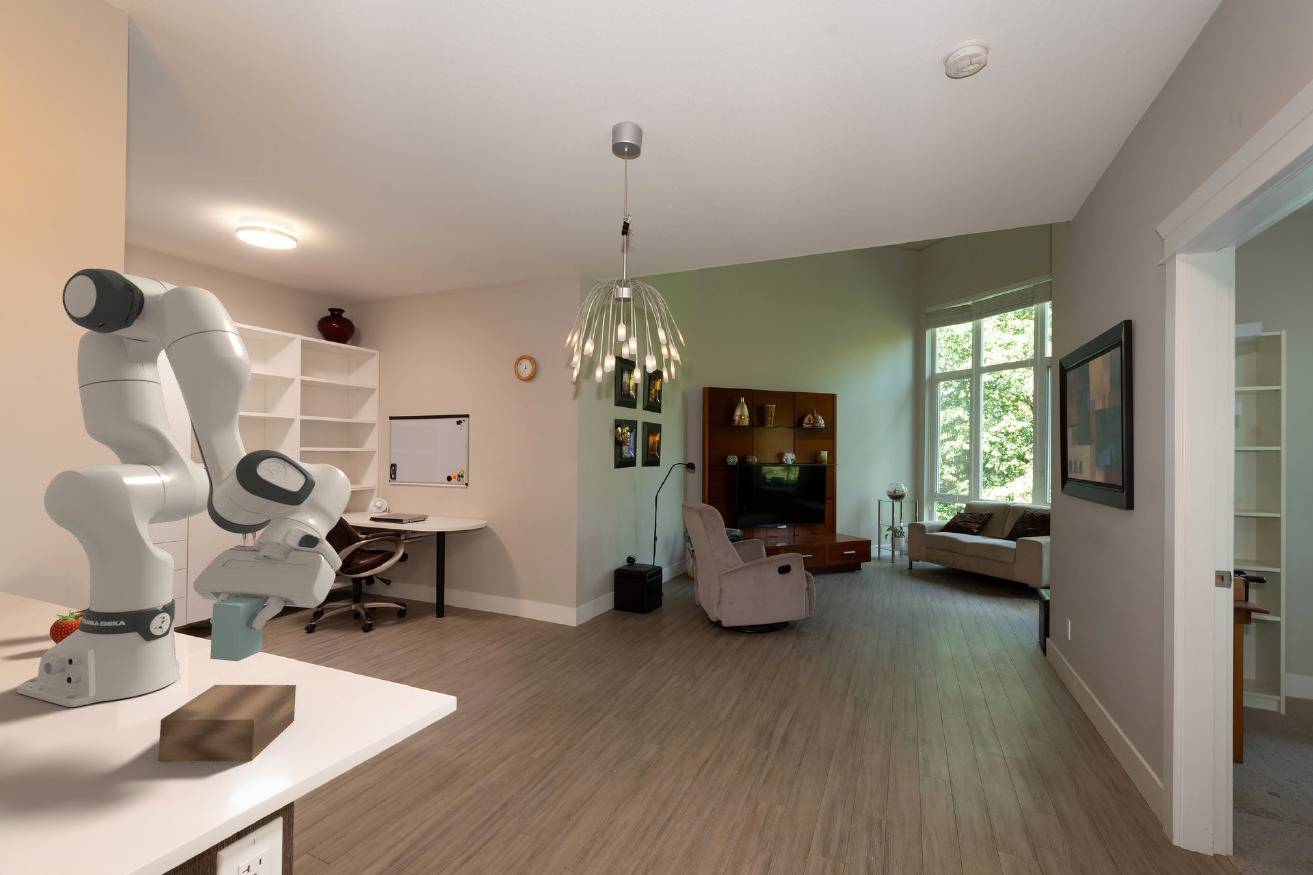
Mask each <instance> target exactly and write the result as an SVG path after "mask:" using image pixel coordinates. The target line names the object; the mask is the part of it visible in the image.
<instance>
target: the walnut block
mask: <svg viewBox="0 0 1313 875" xmlns="http://www.w3.org/2000/svg"><path fill="white" fill-rule="evenodd" d="M296 690H297V685H296V684H214V685H213V686H211V687H209V688H208V689H206V690H205V691H203V692H202V693H200V694H198V695H197V696H196V697H194V698H192V699H191V700H189V701H188V702H186V703H184V704H183V705H182V706H180V707H179V708H177V709H175V710H174V711H172V712H171V713H169V714H168V715H166V716H164V717H163V718H162V719H160V726H159V728H160V729H159V741H158V743H159V745H158V761H157V762H159V761H160V762H159V763H170V762H171V763H177V762H179V763H181V762H182V763H183V762H185V763H186V762H188V763H189V762H252V761H254V759H256V758H257V757H258V756H259V755H260V754H261V753H262V752H263V751H264V750H265V749H266V748H268V747H269V745H270V744H272V743H273V741H275V740H277V738H278V737H279V736H280V735H281V734H282V733H283V732H284V731H285V730H287V729H288V727H290V726H291V725H292V723H294V722H295V714H296V713H295V710H296V694H297V692H296ZM293 721H294V722H293Z"/></svg>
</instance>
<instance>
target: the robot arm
mask: <svg viewBox="0 0 1313 875" xmlns="http://www.w3.org/2000/svg"><path fill="white" fill-rule="evenodd" d="M62 291H63V292H62V305H63V309H64V310H65V312H66V315H67V316H68V318H69V319H70V320H71V321H72V322H73V323H74V324H76V325H77V326H80V327H81V328H84V329H87V330H88V331H86V332H85V333H84V334H83V335H82V336H81V337H80V339H79V343H78V348H77V349H78V350H77V369H76V370H77V383H78V384H77V385H78V392H79V396H80V402H81V403H80V404H81V410H82V417H83V423H84V429H85V431H86V433H87V434H88V436H89V437H90V438H91V439H93V440H94V441H96V442H98V443H99V444H101V445H103V446H105V447H106V448H108V449H110V450H111V451H112V452H113V454H115V455H116V457H117V458H118V459H119V462H121V463H106V464H105V463H104V464H103V463H102V464H101V463H100V464H92V465H91V464H90V465H87V466H82V467H76V468H72V469H68V470H64V471H61V472H59V473H58V474H57V475H55V476H54V478H52V480H51V481H50V482H49V484H48V485H47V487H46V489H45V492H44V496H43V497H44V498H43V505H44V508H45V511H46V514H47V515H48V517H49V518H50V519H51V521H53V523H55V524H56V525H57V526H59V527H61V528H63V529H65V530H67V531H68V532H69V533H71V535H73V536H74V537H75V538H76V539H77V540H78V542H79V544H81V546H82V548H83V550H84V551H85V554H86V557H87V560H88V565H89V580H90V581H89V582H90V583H89V607H87V608H85V609H80V610H78V611H74V614H79V613H81V612H83V613H82V614H80V615H78V616H76V617H74V618H80V617H82V620H81V622H80V624H79V626H78V630H76V631H75V632H74V633H72V634H71V635H69V636H68V637H67V638H65V639H64V640H62V641H61V642H59V643H58V644H56V643H55V645H53V646H52V647H51V648H49V649H48V650H46V651H45V652H44V653H43V654H42V656H41V659H40V661H39V666H38V671H37V672H38V673H37V676H34V677H33V678H30V679H28V680H26V681H24V682H22V683H21V684H19V685H18V686H17V688H16V691H15V692H16V693H17V694H20V695H24V696H27V697H31V698H34V699H38V700H42V701H44V702H50V703H53V704H57V705H60V706H64V707H69V708H74V707H81V706H86V705H89V704H93V703H99V702H107V701H114V700H120V699H121V700H122V699H126V698H130V697H136V696H140V695H145V694H148V693H152V692H154V691H157V690H160V689H162V688H165V687H167V686H169V685H171V684H173V683H174V682H176V681H177V680H178V679H179V678H180V672H179V667H180V661H179V660H177V655H176V654H177V653H176V642H175V629H174V625H173V622H174V620H175V617H176V616H175V614H176V609H177V608H176V600H175V599H174V598H173V592H174V573H175V560H174V558H173V556H172V554H171V553H169V552H168V551H166V550H165V549H163V548H160V547H159V546H155V545H154V544H153V542H152V540H151V538H150V535H149V530H148V529H149V528H148V525H152V524H154V525H155V524H161V523H162V524H163V523H169V522H177V521H181V520H184V519H188V518H190V517H193V516H197V515H199V514H201V513H204V512H206V511H207V512H208V516H209V518H210V519H211V520H212V521H213V523H214V524H215V525H216V526H218V527H219V528H220V529H222V530H224V531H227V532H229V533H233V534H239V535H240V534H241V535H246V534H249V535H250V534H254V533H256V532H257V533H258V532H259V531H261V530H263V529H264V530H263V531H262V533H261V534H260V535H259V536H258V538H257V540H256V541H255V542H254V543H253V545H247V546H245V545H240V544H239V545H235V546H234V547H231V548H227V549H225V550H224V551H222V552H221V553H220V554H218V555H217V556H216V557H215V558H213V560H211V562H209V564H208V565H207V566H206V567H205V568H204V569H203V570H202V571H201V572H200V573H199V574H198V576H197V577H196V578H195V580H194V581H193V584H192V585H193V590H194V591H195V592H196V593H197V594H198V595H199V596H200V597H202V599H205V600H209V601H210V600H211V601H212V600H213V601H216V603H217V602H220V601H223V600H227V599H230V598H233V597H237V596H242V597H255V598H264V605H266V606H264V608H263V609H262V610H261V611H260V612H259V613H258V614H252V615H251V616H250V619H249V620H248V621H247V623H246V626H247V627H249V629H253V630H261V629H262V628H264V626H265V625H266V623H267V622H268V621H270V620H271V619H272V618H273V617H275V616H276V615H277V614H279V613H280V612H282V610H283V608H284V607H285V606H286V607H298V608H309V609H314V608H316V607H318V606H319V605H322V603H323V602H324V601H325V600H326V597H327V596H328V594H329V592H330V590H331V588H332V586H333V585H334V582H335V579H336V572H337V571H338V570H340V568H341V567H342V565H343V562H342V560H341V558H340V556H339V554H338V552H336V550H335V549H334V547H333V546H332V545H331V544H330V543H329V542H328V540H327V539H326V538H327V535H328V533H329V532H330V531H331V530H332V529H334V527H335V526H336V525H337V523H338V522H339V520H340V518H341V517H342V516H343V513H344V511H345V509H346V507H347V505H348V503H349V500H350V497H351V494H352V485H351V484H352V483H351V482H350V479H349V478H348V476H347V475H346V474H345V473H344V472H343V471H342V470H341V469H339V468H337V467H336V466H334V465H331V464H328V463H308V462H303V461H299V460H296V459H294V458H293V459H292V458H291V457H289V456H288V455H286V454H284V453H282V452H279V451H276V450H271V449H260V450H254V451H251V452H249V453H247V452H246V450H245V446H244V443H243V440H242V437H241V434H240V429H239V418H240V413H241V409H242V405H243V402H244V399H245V396H246V393H247V391H248V388H249V386H250V383H251V381H252V374H253V372H252V365H251V361H250V356H249V353H248V349H247V348H246V345H245V342H244V341H243V338H242V336H241V333H240V332H239V330H238V328H237V326H236V324H235V322H234V321H233V319H232V318H231V316H230V313H229V312H228V311H227V309H226V307H225V306H224V305H223V303H222V302H221V301H220V300H219V298H218V297H217V296H216V295H215V294H214V293H213V292H211V291H209V290H207V289H205V288H202V287H198V286H189V285H186V286H184V285H183V286H177V285H175V284H172V283H170V282H167V281H163V280H160V279H157V278H156V279H155V278H151V277H143V276H140V275H134V274H127V273H121V272H117V271H115V270H111V269H105V268H84V269H81V270H78V271H77V272H75V273H74V274H72V276H71V277H70V278H68V280H67V281H66V283H65V285H64V287H63V290H62ZM162 351H164V352H165V356H166V358H167V360H168V363H169V364H170V367H171V370H172V372H173V374H174V377H175V380H176V382H177V385H178V387H179V391H180V392H181V395H182V398H183V402H184V404H185V408H186V410H187V413H188V417H189V419H190V423H191V427H192V430H193V431H192V432H193V434H194V438H195V441H196V445H197V448H198V450H199V454H200V456H201V460H202V462H203V466H204V467H202V466H200V465H198V464H197V463H196V462H195V461H193V460H192V458H190V456H189V455H188V454H187V453H186V452H185V450H183V447H182V446H181V445H180V443H179V442H178V439H177V438H176V437H175V435H174V432H173V431H172V429H171V426H170V422H169V419H168V415H167V411H166V406H165V405H166V404H165V400H164V394H163V389H162V384H161V382H162V381H161V378H160V372H159V367H158V358H159V355H160V354H161V353H162ZM209 622H210V624H211V625H212V617H211V618H210V621H209Z"/></svg>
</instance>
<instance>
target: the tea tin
mask: <svg viewBox="0 0 1313 875" xmlns="http://www.w3.org/2000/svg"><path fill="white" fill-rule="evenodd" d="M263 608H265V604H264V598H255V597H242V596H237V597H233V598H230V599H227V600H223V601H220V602H217V601H216V602H214V603H212V616H211V618H212V624H211V638H210V640H211V641H210V658H209V659H211V660H217V661H218V660H219V661H229V662H240V661H243V660H244V659H246V658H249V657H251V656H253V655H256V654H258V653H261V652H262V648H263V628H264V627H263V628H262V629H261V630H253V629H249V627H247V626H246V623H247V621H248V620H249V619H250V616H251V615H252V614H258V613H259V612H260V611H261V610H262V609H263Z"/></svg>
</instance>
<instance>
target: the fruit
mask: <svg viewBox="0 0 1313 875" xmlns="http://www.w3.org/2000/svg"><path fill="white" fill-rule="evenodd" d="M71 611H72V610H71V609H69V613H68V615H61V614H56V616H53V617H55V618H58V619H57V620H55V621H54V622H53V624H52V625H51V626H50V628H49V636H50V637H49V638H51V640H52V641H53V642H54V644H55V645H56V644H58V643H59V642H61V641H62V640H64V639H65V638H67V637H68V636H69V635H71V634H72V633H74V632H75V631H76V630H78V626H79V624H80V622H81V620H82V617H80V618H74V617H76V616H78V615H80V614H82V613H83V612H81V613H75V611H72V612H71Z"/></svg>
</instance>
